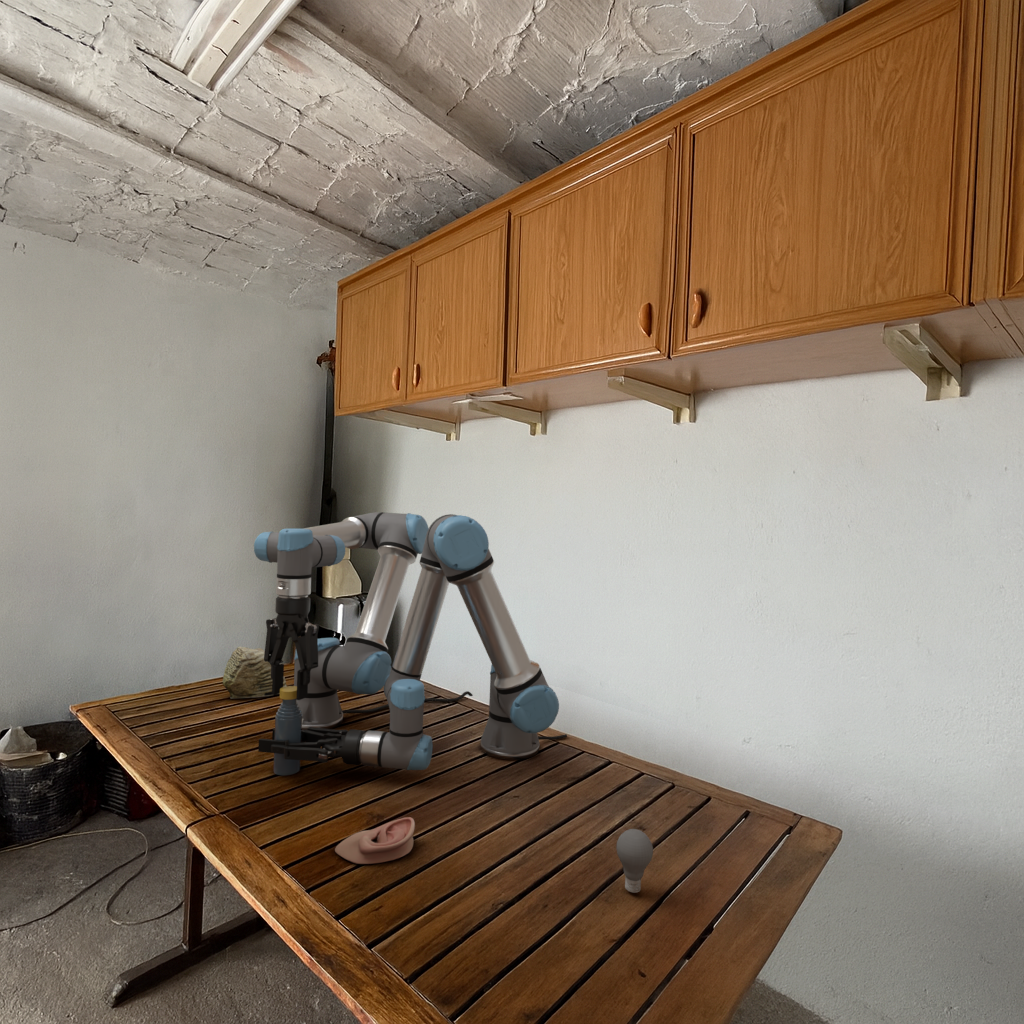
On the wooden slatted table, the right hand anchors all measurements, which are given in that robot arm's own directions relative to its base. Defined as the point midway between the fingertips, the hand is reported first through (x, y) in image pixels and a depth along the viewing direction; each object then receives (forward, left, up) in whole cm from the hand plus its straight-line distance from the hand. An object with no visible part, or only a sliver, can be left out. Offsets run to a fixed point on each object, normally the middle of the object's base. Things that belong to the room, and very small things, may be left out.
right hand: (266, 739), depth 146 cm
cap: (-5, +2, +12) cm, 13 cm away
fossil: (+5, -57, -7) cm, 57 cm away
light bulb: (-59, +64, -7) cm, 88 cm away
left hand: (-5, +2, +11) cm, 12 cm away
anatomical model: (-20, +40, -7) cm, 45 cm away
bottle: (-5, +2, -7) cm, 8 cm away
